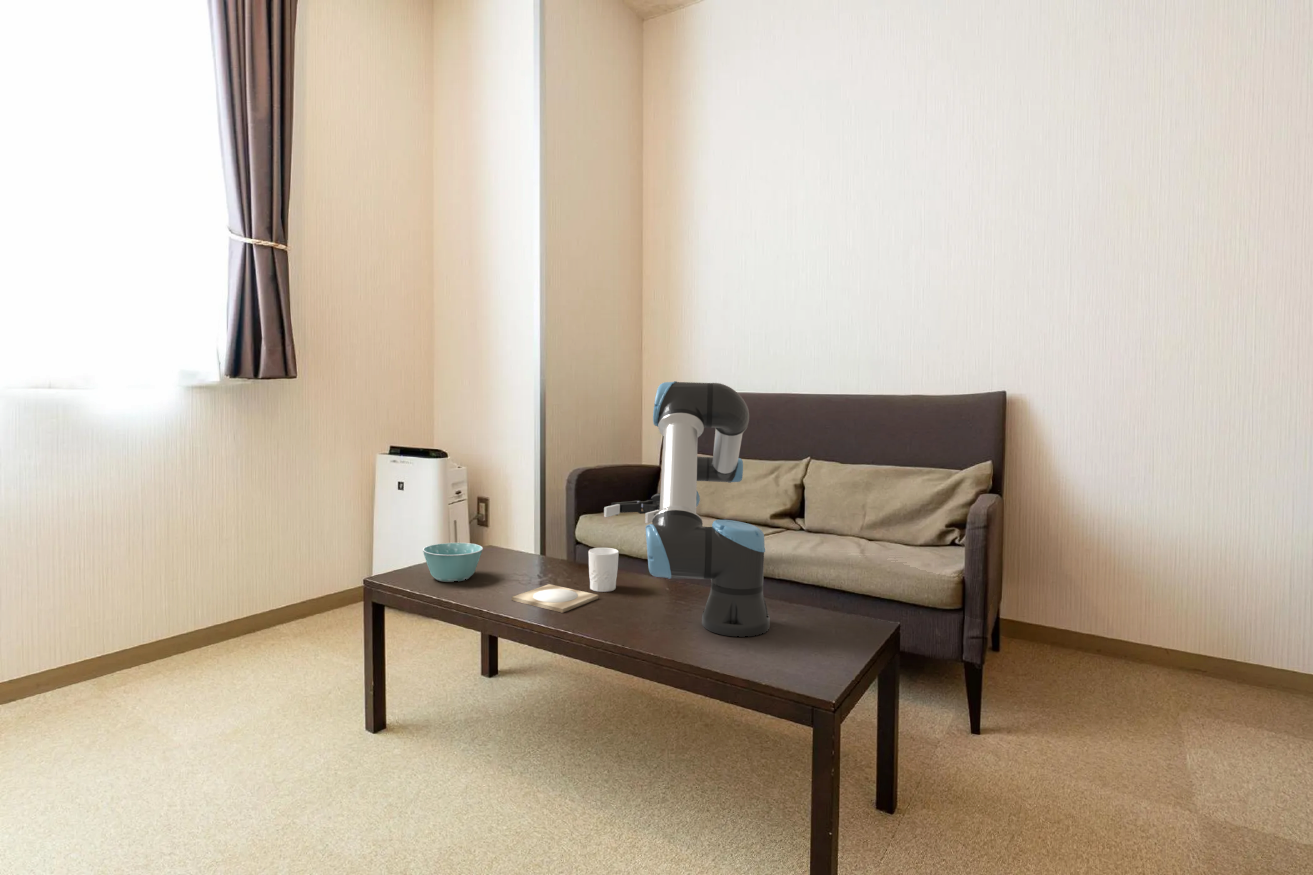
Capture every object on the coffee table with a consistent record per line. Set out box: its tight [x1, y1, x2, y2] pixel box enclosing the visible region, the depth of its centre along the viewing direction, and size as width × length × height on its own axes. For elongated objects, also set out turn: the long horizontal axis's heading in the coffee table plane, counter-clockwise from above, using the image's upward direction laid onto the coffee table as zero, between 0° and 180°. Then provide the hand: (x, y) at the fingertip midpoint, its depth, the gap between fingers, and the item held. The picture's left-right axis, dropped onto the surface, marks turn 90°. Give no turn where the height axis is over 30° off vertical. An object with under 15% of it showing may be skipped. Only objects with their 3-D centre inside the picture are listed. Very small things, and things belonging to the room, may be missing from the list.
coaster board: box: [511, 583, 599, 613], centre depth 176 cm, size 16×14×1 cm
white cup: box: [588, 547, 620, 593], centre depth 186 cm, size 8×8×10 cm
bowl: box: [422, 542, 484, 583], centre depth 193 cm, size 16×16×8 cm
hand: (625, 515), depth 194 cm, fingers open, 13 cm apart
